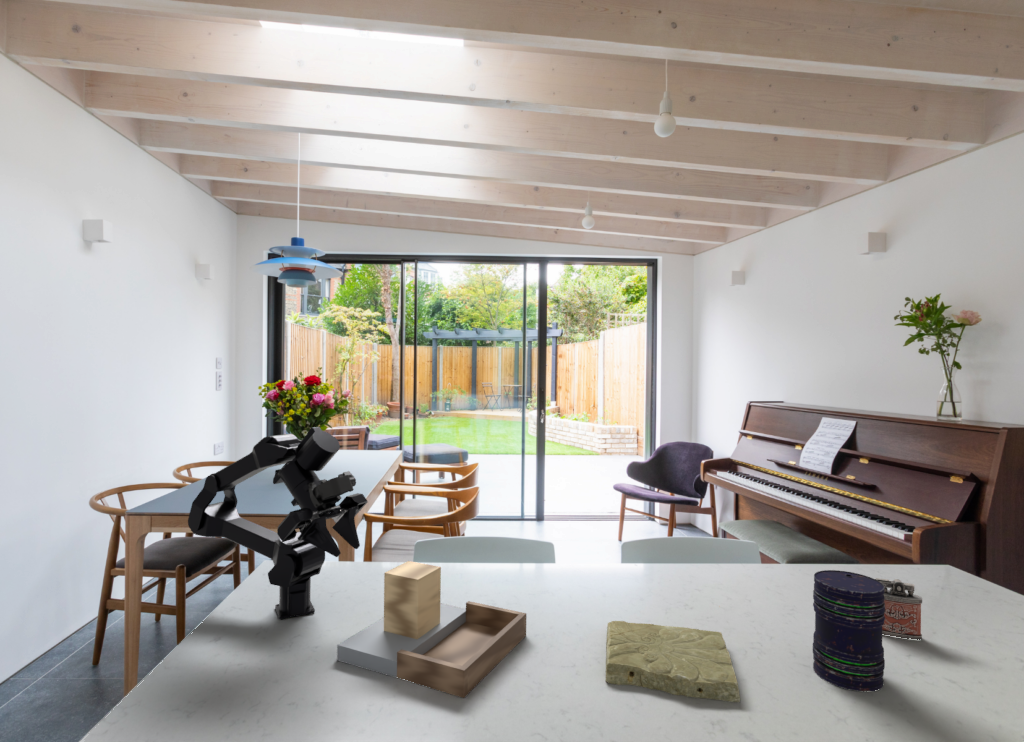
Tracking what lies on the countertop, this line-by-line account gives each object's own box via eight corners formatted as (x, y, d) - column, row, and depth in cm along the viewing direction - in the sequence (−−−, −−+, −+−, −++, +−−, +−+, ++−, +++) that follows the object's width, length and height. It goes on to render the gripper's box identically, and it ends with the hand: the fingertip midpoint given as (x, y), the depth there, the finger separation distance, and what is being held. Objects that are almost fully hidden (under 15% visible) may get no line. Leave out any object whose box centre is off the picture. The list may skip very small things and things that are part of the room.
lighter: (919, 635, 104) (920, 580, 104) (924, 643, 101) (924, 587, 101) (868, 626, 108) (868, 573, 108) (870, 634, 105) (871, 579, 105)
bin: (396, 678, 88) (397, 652, 88) (468, 622, 107) (468, 601, 108) (464, 698, 82) (464, 670, 82) (526, 635, 102) (526, 613, 102)
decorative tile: (606, 635, 104) (607, 615, 104) (722, 647, 100) (722, 626, 100) (601, 691, 86) (601, 667, 86) (742, 708, 82) (743, 683, 82)
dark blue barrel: (885, 699, 83) (886, 597, 83) (809, 680, 88) (810, 584, 89) (883, 670, 92) (884, 577, 92) (814, 653, 97) (815, 565, 97)
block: (383, 630, 98) (384, 572, 98) (407, 615, 104) (408, 560, 104) (417, 639, 95) (417, 579, 95) (440, 623, 101) (440, 566, 101)
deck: (337, 660, 93) (337, 644, 93) (415, 610, 113) (416, 597, 113) (396, 678, 88) (397, 661, 88) (468, 622, 107) (468, 609, 108)
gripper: (289, 466, 100) (336, 538, 95) (361, 453, 117) (404, 513, 112) (257, 506, 103) (301, 577, 99) (331, 488, 120) (372, 547, 115)
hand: (348, 551), depth 106 cm, fingers open, 5 cm apart
